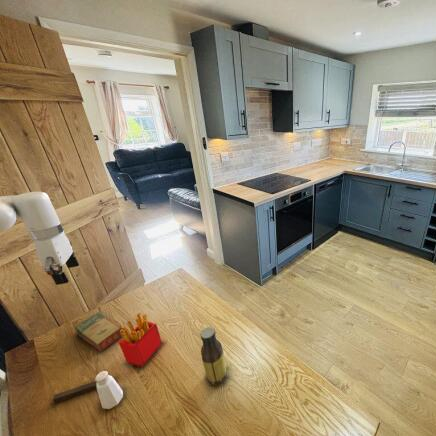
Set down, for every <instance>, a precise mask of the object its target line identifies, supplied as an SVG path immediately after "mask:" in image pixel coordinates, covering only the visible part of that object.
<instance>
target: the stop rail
mask: <svg viewBox="0 0 436 436" xmlns="http://www.w3.org/2000/svg"><path fill="white" fill-rule="evenodd" d="M111 376H112V377H113V378H114V376H113V375H111ZM95 390H97V381H96V380H94V381H92V382H89V383H85V384H83V385H80V386H77V387H73V388H71V389H68V390H65V391H62V392H59V393H56V394H54V396H53V398H52V401H53V403H54V404H58V403H60V402H64V401H66V400H69V399H72V398H75V397H78V396H81V395H84V394H88V393H90V392H92V391H95Z"/></svg>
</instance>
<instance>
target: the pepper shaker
mask: <svg viewBox="0 0 436 436" xmlns="http://www.w3.org/2000/svg"><path fill="white" fill-rule="evenodd" d="M112 376H113V375H110V374H109V371H107V370H103V371H100V372H99V373H98V374H97V375H96V376H95V379H94V381H97V389H96V390H97V391H96V392H97V395H98V398H99V401H100V405H101V408H102V409H104V410H105V409H106V410H110V409H112V408H114V407H116V406H118V405H119V404H120V402H121V400H122V399H123V398H124V392H123V389H122V387H121V386H120V385H119V384H118V382H117V381H116V379H115V378H114V376H113V377H112Z"/></svg>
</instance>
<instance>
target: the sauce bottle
mask: <svg viewBox="0 0 436 436" xmlns="http://www.w3.org/2000/svg"><path fill="white" fill-rule="evenodd" d="M199 335H200V339H201V341H202V346H201V348H200V355H201V360H202V361H201V362H202V365H203V368H204V373H205V376H206V379H207V381H208V383H209V384H210V385H213V386H218V385H220V384H221V383H222V382H224V380H225V379H226V378H227V375H228V372H227V371H228V370H227V364H226V360H225V355H224V348H223V346H222V343H221V341H219V340H218V339H217V337H216V336H217V335H216V330H215V328H214V327H212V326H207V327H204V329H202V330H201V332H200V334H199Z"/></svg>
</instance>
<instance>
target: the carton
mask: <svg viewBox="0 0 436 436" xmlns="http://www.w3.org/2000/svg"><path fill="white" fill-rule="evenodd" d="M122 327H123V326H120V325H119V324H117V323H116V322H114V321H112V320H111V319H110V318H108V317H106V316H105V315H103V314H102V313H101V312H96V313H94V314H93V315H91V316H89V317H88V318H86V319H85V320H83V321H82V322H80V323H78V324H76V325H75V326H74V329H75V331H76V334H77V335H78V337H80V338H82V339H83V340H84V341H85V342H87V343H88V344H90V345H91V346H92V347H94V348H95V349H97V350H98V351H99V352H100V353H101V352H103V351H104V350H106V349H107V348H108V347H110V346H111V345H112V344H113V343H115V342H117V341H118V340H119V339H121V338H123V337H122V335H121V333H120V330H122V329H121V328H122Z"/></svg>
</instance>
